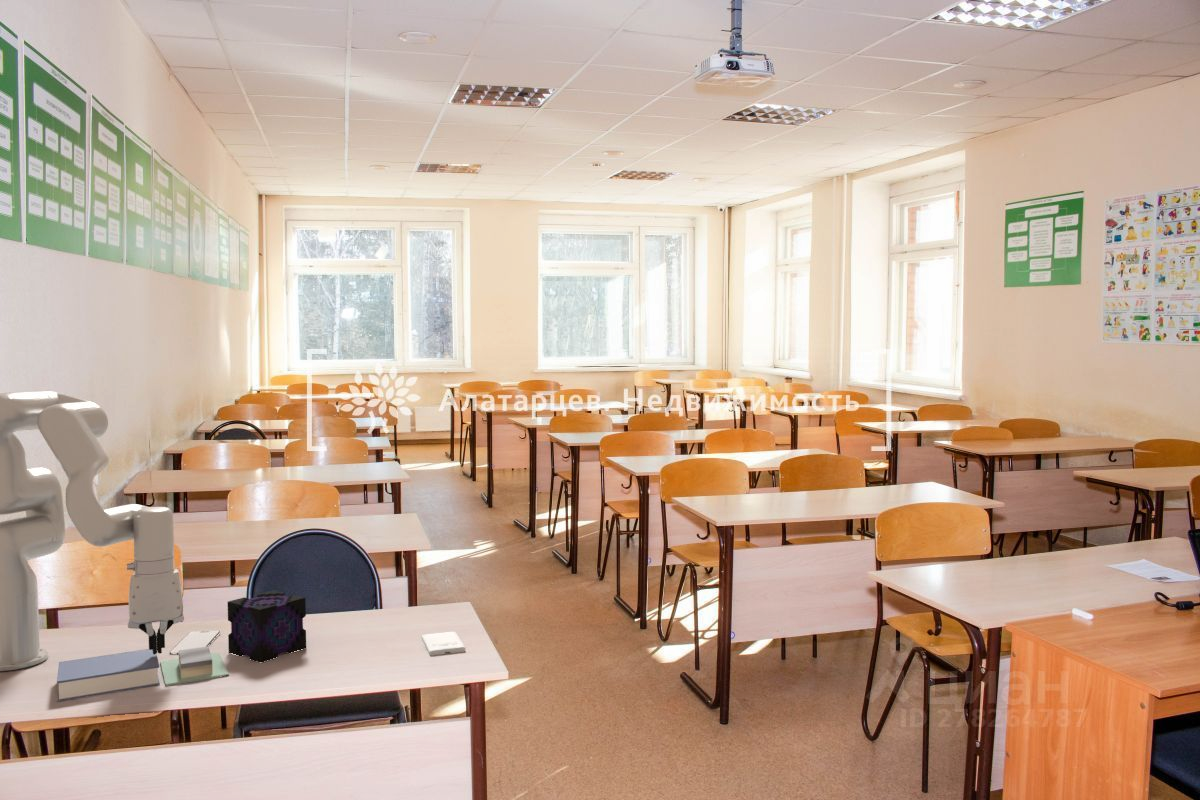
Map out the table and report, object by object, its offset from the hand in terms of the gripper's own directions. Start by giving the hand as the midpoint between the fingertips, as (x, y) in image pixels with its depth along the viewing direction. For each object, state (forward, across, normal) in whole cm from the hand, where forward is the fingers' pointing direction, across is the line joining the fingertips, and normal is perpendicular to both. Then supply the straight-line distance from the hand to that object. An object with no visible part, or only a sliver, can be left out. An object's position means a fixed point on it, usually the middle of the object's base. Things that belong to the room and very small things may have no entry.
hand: (157, 651), depth 190 cm
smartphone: (+6, +9, +19) cm, 22 cm away
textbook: (+5, -9, 0) cm, 10 cm away
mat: (+5, +7, 0) cm, 9 cm away
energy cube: (+5, +23, +5) cm, 24 cm away
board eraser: (+3, +7, -1) cm, 8 cm away
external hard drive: (+6, +59, -12) cm, 60 cm away
